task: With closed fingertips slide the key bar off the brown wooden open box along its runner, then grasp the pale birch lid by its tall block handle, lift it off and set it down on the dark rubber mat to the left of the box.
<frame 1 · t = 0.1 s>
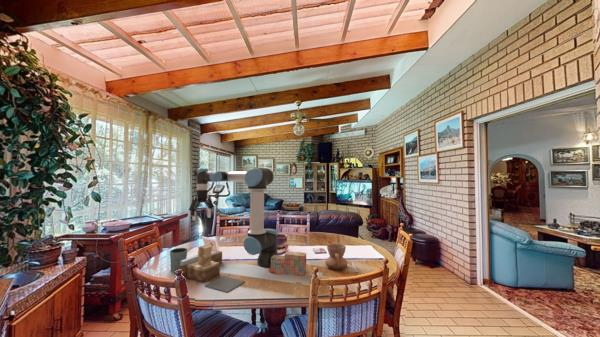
hand: (201, 218, 177), 28 cm above the table, fingers open, 13 cm apart
lid: (200, 267, 144), point 5 cm above the table, touching brown wooden open box
mat: (225, 284, 133), on the table
key: (194, 258, 147), point 9 cm above the table, slide at 0.0 cm
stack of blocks: (288, 273, 150), on the table
ceramic jug: (336, 268, 158), on the table
brown wooden open box: (200, 275, 144), on the table
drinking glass: (178, 269, 154), on the table
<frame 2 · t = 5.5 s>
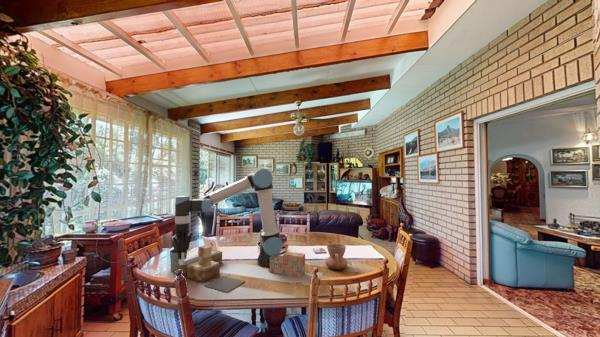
hand: (181, 264, 139), 9 cm above the table, fingers closed
key: (194, 258, 148), point 9 cm above the table, slide at 0.5 cm, touching gripper
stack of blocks: (287, 273, 149), on the table
everything else where it was.
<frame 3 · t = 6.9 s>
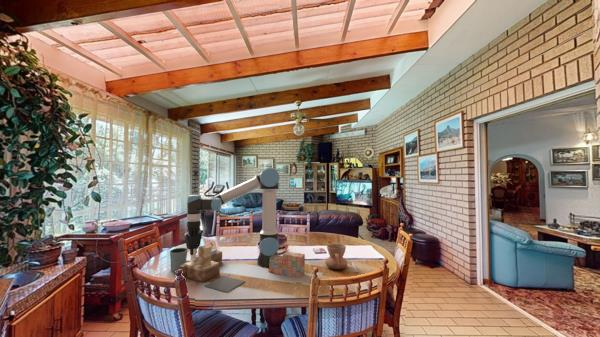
hand: (193, 259, 147), 9 cm above the table, fingers closed
key: (205, 254, 155), point 9 cm above the table, slide at 8.6 cm, touching gripper
everything else where it was.
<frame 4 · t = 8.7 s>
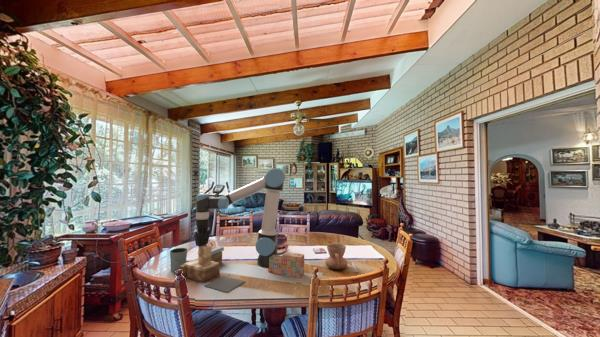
hand: (201, 256, 153), 9 cm above the table, fingers closed
key: (213, 251, 161), point 9 cm above the table, slide at 15.2 cm, touching gripper
everything else where it was.
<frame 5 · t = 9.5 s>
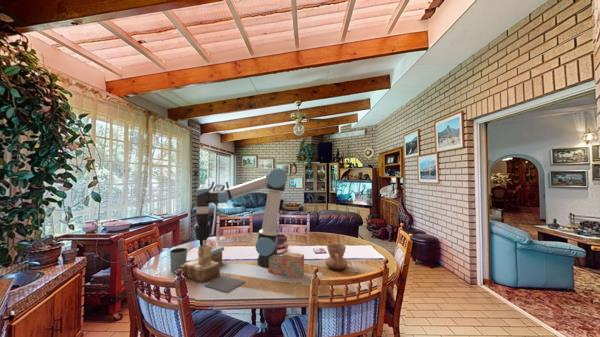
hand: (202, 250, 153), 12 cm above the table, fingers closed
key: (213, 251, 161), point 9 cm above the table, slide at 15.4 cm
everything else where it was.
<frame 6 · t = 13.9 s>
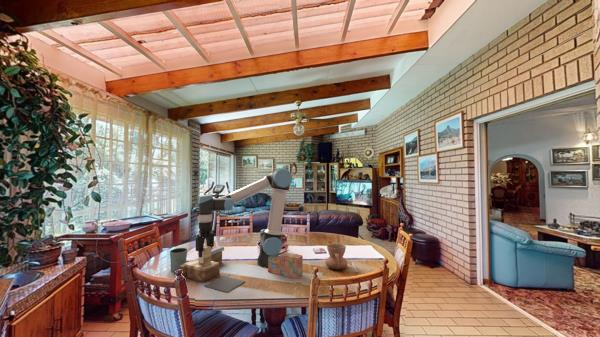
hand: (204, 261, 143), 9 cm above the table, fingers closed on lid, 4 cm apart
lid: (201, 267, 144), point 5 cm above the table, touching gripper, brown wooden open box
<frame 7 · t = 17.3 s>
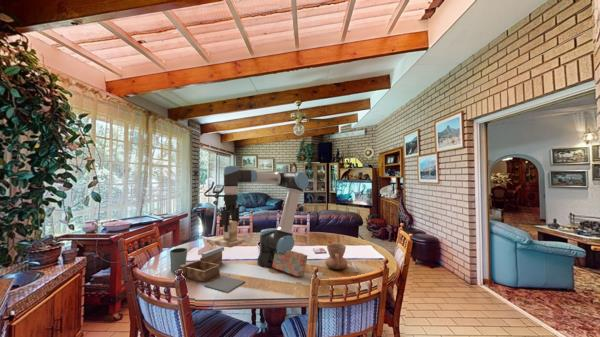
hand: (230, 236, 133), 26 cm above the table, fingers closed on lid, 4 cm apart
lid: (225, 243, 134), point 22 cm above the table, touching gripper
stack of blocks: (287, 272, 149), point 1 cm above the table, touching arm
everything else where it was.
when the fingers open (6 cm above the table, at t = 21.6 s): lid drops 1 cm, resting on mat.
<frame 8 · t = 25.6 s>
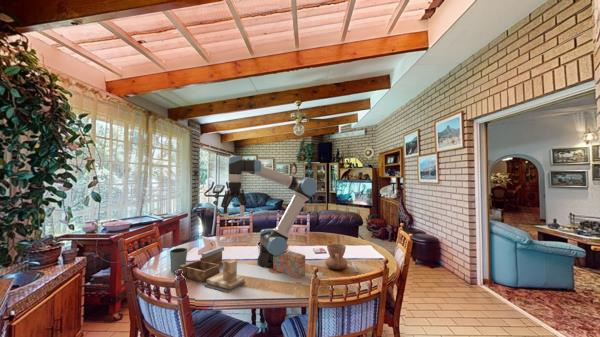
hand: (234, 217, 145), 35 cm above the table, fingers open, 13 cm apart
lid: (225, 283, 133), point 1 cm above the table, touching mat
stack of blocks: (288, 272, 150), on the table
everything else where it was.
at the end: key slide at 15.4 cm; lid inside the target area (0.1 cm from its centre), point 0.6 cm above the table; lid tilted 0° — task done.
